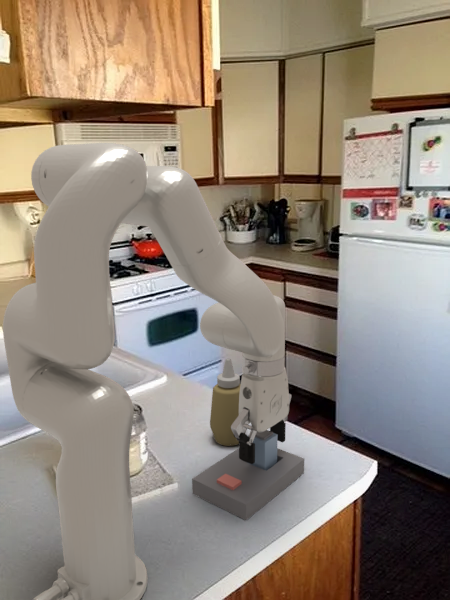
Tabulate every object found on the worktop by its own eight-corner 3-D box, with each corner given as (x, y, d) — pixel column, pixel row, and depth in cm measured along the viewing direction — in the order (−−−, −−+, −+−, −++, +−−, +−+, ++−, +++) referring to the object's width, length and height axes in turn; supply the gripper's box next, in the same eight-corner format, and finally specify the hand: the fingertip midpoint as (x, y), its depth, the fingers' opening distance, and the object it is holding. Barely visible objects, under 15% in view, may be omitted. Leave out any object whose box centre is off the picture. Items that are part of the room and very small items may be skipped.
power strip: (246, 520, 91) (246, 501, 90) (192, 493, 98) (191, 475, 97) (303, 472, 104) (304, 455, 103) (252, 452, 112) (252, 436, 111)
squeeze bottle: (215, 452, 112) (213, 369, 107) (206, 433, 120) (204, 355, 115) (253, 446, 114) (253, 364, 110) (241, 428, 122) (241, 351, 117)
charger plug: (264, 482, 102) (264, 440, 100) (247, 474, 104) (247, 433, 102) (277, 472, 105) (277, 431, 102) (259, 465, 107) (260, 425, 105)
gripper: (251, 384, 90) (251, 477, 94) (306, 355, 103) (304, 438, 107) (215, 373, 95) (217, 463, 99) (273, 346, 108) (272, 426, 112)
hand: (262, 450), depth 103 cm, fingers open, 9 cm apart
